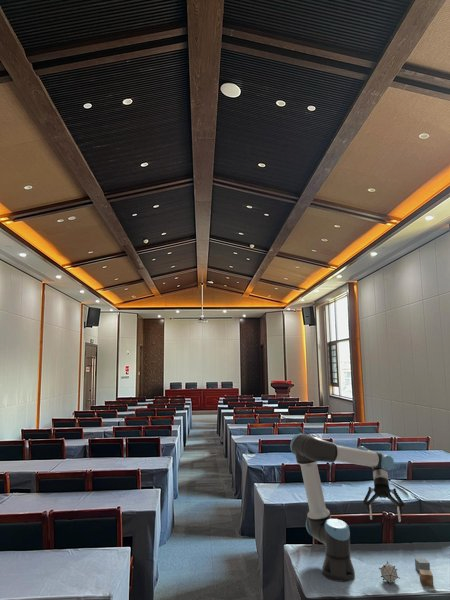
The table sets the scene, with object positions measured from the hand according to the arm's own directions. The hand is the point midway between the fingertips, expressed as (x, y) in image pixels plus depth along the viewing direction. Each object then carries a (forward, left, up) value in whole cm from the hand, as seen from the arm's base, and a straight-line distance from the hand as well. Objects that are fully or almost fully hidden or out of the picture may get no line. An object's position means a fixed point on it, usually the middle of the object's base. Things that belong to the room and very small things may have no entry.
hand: (385, 519), depth 222 cm
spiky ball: (-1, -13, -24) cm, 27 cm away
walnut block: (+16, -10, -23) cm, 30 cm away
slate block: (+16, +3, -23) cm, 29 cm away
